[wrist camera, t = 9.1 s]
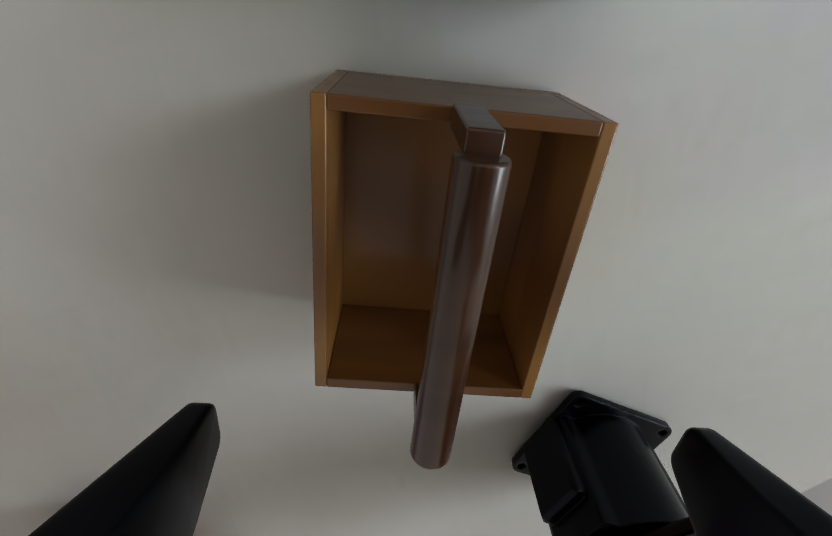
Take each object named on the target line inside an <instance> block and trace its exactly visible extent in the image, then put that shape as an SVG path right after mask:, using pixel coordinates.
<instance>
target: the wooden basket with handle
mask: <svg viewBox="0 0 832 536" xmlns="http://www.w3.org/2000/svg"><path fill="white" fill-rule="evenodd" d="M617 127H618V123H617V122H615V121H613V120H611V119H609V118H607V117H605V116H603V115H601V114H599V113H597V112H595V111H593V110H591V109H589V108H587V107H585V106H583V105H581V104H579V103H577V102H575V101H573V100H571V99H569V98H567V97H565V96H564V95H561V94H560V93H554V92H545V91H535V90H526V89H516V88H507V87H498V86H488V85H479V84H470V83H460V82H451V81H441V80H432V79H423V78H413V77H404V76H395V75H385V74H376V73H366V72H357V71H348V70H337V71H335V72H334V73H333V74H332V75H330V76H329V77H328V78H327V79H326V80H324V81H323V82H322V83H321V84H319V85H318V86H317V87H316V88H315V89H313V90H312V91H311V92H310V128H311V182H312V236H313V290H314V344H315V385H316V386H326V385H327V386H328V387H345V388H363V389H380V390H398V391H414V426H413V433H412V440H411V447H410V452H411V455H412V458H413V459H414V461H415V462H416V463H417V464H418V465H419V466H421V467H423V468H426V469H438V468H441V467H442V466H444V465H445V464H446V463H447V462H448V460H449V458H450V454H451V449H452V445H453V440H454V435H455V430H456V426H457V421H458V416H459V412H460V407H461V402H462V398H463V394H468V395H486V396H504V397H521V398H531V395H532V392H533V389H534V385H535V382H536V379H537V376H538V373H539V370H540V367H541V364H542V361H543V357H544V354H545V351H546V348H547V345H548V342H549V339H550V336H551V333H552V329H553V326H554V323H555V320H556V317H557V314H558V311H559V308H560V305H561V301H562V298H563V295H564V292H565V289H566V286H567V283H568V280H569V276H570V273H571V270H572V267H573V264H574V261H575V258H576V255H577V252H578V248H579V245H580V242H581V239H582V236H583V233H584V230H585V227H586V224H587V220H588V217H589V214H590V211H591V208H592V205H593V202H594V199H595V196H596V192H597V189H598V186H599V183H600V180H601V177H602V174H603V171H604V168H605V164H606V161H607V158H608V155H609V152H610V149H611V146H612V143H613V140H614V136H615V133H616V130H617Z"/></svg>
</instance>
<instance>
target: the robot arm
mask: <svg viewBox="0 0 832 536" xmlns="http://www.w3.org/2000/svg"><path fill="white" fill-rule="evenodd" d="M578 400H579V401H578ZM671 432H672V431H671V428H670V427H669V425H668V424H667V423H666V422H665V421H662V420H659V419H657V418H654V417H651V416H649V415H646V414H643V413H641V412H638V411H635V410H632V409H630V408H627V407H624V406H622V405H619V404H616V403H613V402H611V401H608V400H605V399H603V398H600V397H597V396H594V395H592V394H589V393H586V392H584V391H574V392H572V393H571V394H569V395H568V397H567V398H566V399H565V400H564V401H563V402H562V403H561V404H560V405H559V407H558V408H557V409H556V410H555V411H554V412H553V413H552V414H551V416H550V417H549V418H548V419H547V420H546V421H545V422H544V423H543V424H542V426H541V427H540V428H539V429H538V430H537V431H536V432H535V433H534V434H533V436H532V437H531V438H530V439H529V440H528V441H527V442H526V443H525V444H524V446H523V447H522V448H521V449H520V450H519V451H518V452H517V453H516V455H515V456H514V457H513V458H512V466H513V469H514V470H516V471H518V472H521V473H525V474H528V475H530V476H531V480H532V483H533V487H534V491H535V495H536V498H537V502H538V506H539V509H540V513H541V516H542V519H543V521H544V522H545V523H548V524H549V527H550V530H551V534H552V536H832V516H831V515H829V514H828V513H827V512H825V511H824V510H823V509H821V508H819V507H818V506H817V505H816V504H814V503H813V502H812V501H810V500H809V499H807V498H806V497H805V496H803V495H802V494H801V493H799V492H798V491H797V490H795V489H794V488H792V487H791V486H790V485H788V484H787V483H786V482H784V481H783V480H782V479H780V478H779V477H777V476H776V475H775V474H773V473H772V472H771V471H769V470H768V469H766V468H765V467H764V466H762V465H761V464H760V463H758V462H757V461H756V460H754V459H753V458H751V457H750V456H749V455H747V454H746V453H745V452H743V451H742V450H740V449H739V448H738V447H736V446H735V445H734V444H732V443H731V442H730V441H728V440H727V439H725V438H724V437H723V436H721V435H720V434H719V433H717V432H716V431H714V430H712V429H709V428H695V427H692V428H689V429H687V430H686V431H685V432H684V434H683V436H682V437H681V439H680V441H679V442H678V444H677V446H676V447H675V449H674V451H673V453H672V456H671V464H672V468H673V471H674V474H675V477H676V480H677V483H678V486H679V489H680V491H681V494H682V497H683V500H684V502H683V500H682V498H681V497H680V495H679V493H678V491H677V490H676V488H675V486H674V484H673V483H672V481H671V479H670V477H669V476H668V474H667V472H666V470H665V469H664V467H663V465H662V463H661V462H660V460H659V458H658V456H657V455H656V453H655V451H654V449H655V448H656V447H657V446H658V445H659V444H660V443H662V442H663V441H664V440H665V439H666V438H667V437H668V436H669V435H670V434H671ZM219 444H220V429H219V424H218V418H217V413H216V408H215V406H214V405H213V404H210V403H190V404H188V405H186V406H185V407H184V408H182V409H181V410H180V411H179V412H178V413H176V414H175V415H174V416H173V417H171V418H170V419H169V420H168V421H167V422H165V423H164V424H163V425H162V426H161V427H159V428H158V429H157V430H156V431H155V432H153V433H152V434H151V435H150V436H148V437H147V438H146V439H145V440H144V441H142V442H141V443H140V444H139V445H138V446H136V447H135V448H134V449H133V450H132V451H130V452H129V453H128V454H127V455H125V456H124V457H123V458H122V459H121V460H119V461H118V462H117V463H116V464H115V465H113V466H112V467H111V468H110V469H109V470H107V471H106V472H105V473H104V474H102V475H101V476H100V477H99V478H98V479H96V480H95V481H94V482H93V483H92V484H90V485H89V486H88V487H87V488H85V489H84V490H83V491H82V492H81V493H79V494H78V495H77V496H76V497H75V498H73V499H72V500H71V501H70V502H69V503H67V504H66V505H65V506H64V507H62V508H61V509H60V510H59V511H58V512H56V513H55V514H54V515H53V516H52V517H50V518H49V519H48V520H47V521H46V522H44V523H43V524H42V525H41V526H39V527H38V528H37V529H36V530H35V531H33V532H32V533H31V534H30V535H29V536H193V533H194V530H195V527H196V523H197V520H198V517H199V513H200V510H201V507H202V503H203V500H204V496H205V493H206V489H207V486H208V483H209V479H210V476H211V472H212V469H213V465H214V462H215V459H216V455H217V452H218V448H219ZM684 503H685V504H684Z"/></svg>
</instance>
